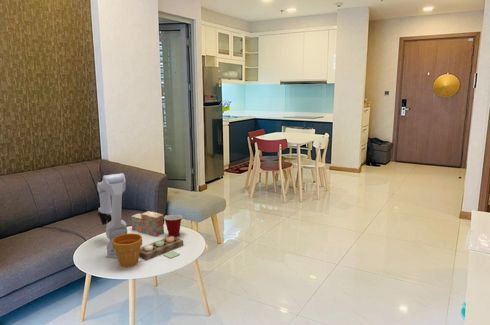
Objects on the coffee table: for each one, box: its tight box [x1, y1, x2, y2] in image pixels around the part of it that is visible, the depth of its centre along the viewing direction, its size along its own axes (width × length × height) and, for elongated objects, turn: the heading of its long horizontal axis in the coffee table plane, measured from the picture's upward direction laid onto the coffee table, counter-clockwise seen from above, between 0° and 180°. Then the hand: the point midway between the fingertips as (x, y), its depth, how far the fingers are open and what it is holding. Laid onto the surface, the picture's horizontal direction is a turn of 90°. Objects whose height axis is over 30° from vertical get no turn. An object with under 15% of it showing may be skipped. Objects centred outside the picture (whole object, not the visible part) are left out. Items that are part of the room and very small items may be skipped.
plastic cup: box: [163, 214, 183, 238], centre depth 218 cm, size 11×11×12 cm
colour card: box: [162, 250, 181, 259], centre depth 194 cm, size 6×6×1 cm
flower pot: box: [112, 232, 143, 268], centre depth 184 cm, size 14×14×13 cm
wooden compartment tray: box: [139, 236, 184, 261], centre depth 200 cm, size 24×10×3 cm, turn 139°
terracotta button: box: [165, 236, 174, 243], centre depth 205 cm, size 4×4×3 cm
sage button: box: [154, 239, 164, 248], centre depth 200 cm, size 4×4×3 cm
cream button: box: [143, 244, 153, 252], centre depth 194 cm, size 4×4×3 cm
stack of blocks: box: [130, 210, 165, 238], centre depth 225 cm, size 21×6×12 cm, turn 58°
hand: (107, 225), depth 211 cm, fingers open, 6 cm apart
